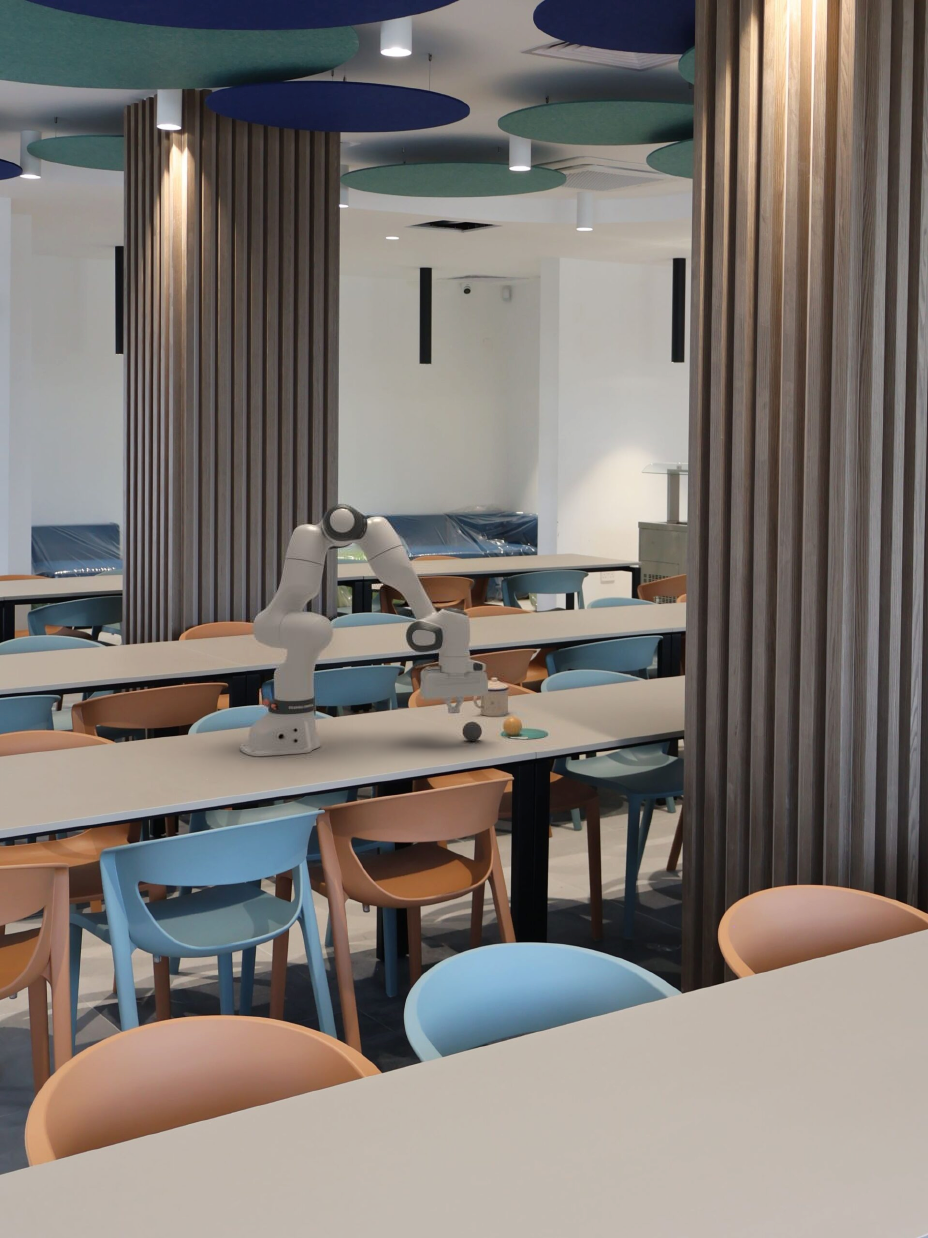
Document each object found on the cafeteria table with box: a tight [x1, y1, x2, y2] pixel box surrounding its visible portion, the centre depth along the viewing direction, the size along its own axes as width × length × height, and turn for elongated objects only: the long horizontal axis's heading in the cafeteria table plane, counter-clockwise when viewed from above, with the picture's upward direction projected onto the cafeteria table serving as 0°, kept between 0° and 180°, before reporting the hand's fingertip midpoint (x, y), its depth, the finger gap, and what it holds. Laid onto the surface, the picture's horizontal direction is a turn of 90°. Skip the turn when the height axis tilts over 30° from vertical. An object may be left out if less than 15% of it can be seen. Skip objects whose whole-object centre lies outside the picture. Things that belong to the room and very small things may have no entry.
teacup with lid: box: [473, 677, 509, 718], centre depth 404 cm, size 12×9×12 cm
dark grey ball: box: [462, 721, 483, 742], centre depth 368 cm, size 6×6×6 cm
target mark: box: [500, 727, 549, 740], centre depth 376 cm, size 14×14×1 cm
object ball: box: [502, 716, 523, 736], centre depth 374 cm, size 6×6×6 cm
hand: (453, 713), depth 363 cm, fingers closed
